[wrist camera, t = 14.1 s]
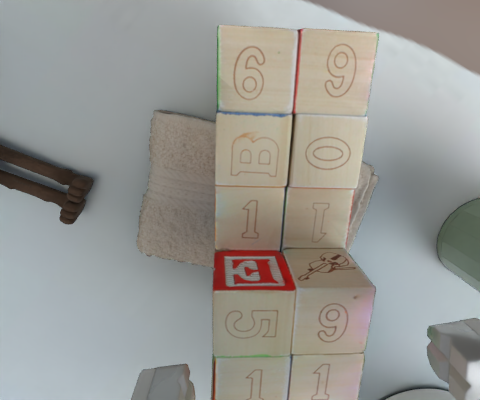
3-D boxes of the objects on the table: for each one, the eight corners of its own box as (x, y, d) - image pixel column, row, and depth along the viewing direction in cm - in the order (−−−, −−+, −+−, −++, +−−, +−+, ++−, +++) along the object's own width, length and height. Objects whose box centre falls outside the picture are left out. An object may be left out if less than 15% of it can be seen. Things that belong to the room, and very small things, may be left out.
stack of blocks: (219, 57, 20) (215, -12, 8) (315, 62, 20) (442, 3, 8) (213, 331, 26) (206, 517, 14) (286, 331, 27) (337, 511, 15)
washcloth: (331, 279, 29) (343, 299, 26) (137, 246, 27) (127, 263, 24) (374, 155, 26) (394, 162, 23) (156, 106, 23) (147, 107, 21)
